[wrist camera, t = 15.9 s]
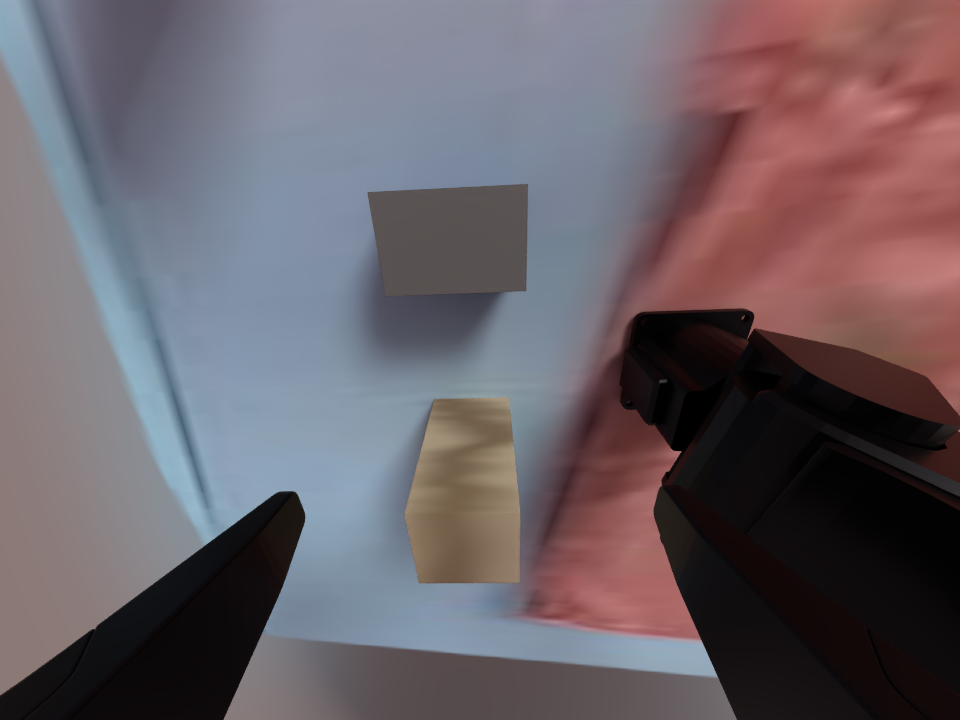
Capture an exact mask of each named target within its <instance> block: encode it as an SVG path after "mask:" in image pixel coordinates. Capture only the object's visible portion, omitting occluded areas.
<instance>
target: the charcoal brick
mask: <svg viewBox="0 0 960 720" xmlns="http://www.w3.org/2000/svg"><path fill="white" fill-rule="evenodd" d="M367 193H368V198H369V204H370V210H371V216H372V221H373V227H374V233H375V238H376V244H377V250H378V256H379V261H380V267H381V273H382V279H383V284H384V290H385V296H408V295H434V294H460V293H486V292H512V291H526V269H527V207H528V184H520V185H500V186H481V187H461V188H442V189H422V190H403V191H383V192H367Z"/></svg>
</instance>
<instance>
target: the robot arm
mask: <svg viewBox="0 0 960 720" xmlns="http://www.w3.org/2000/svg"><path fill="white" fill-rule="evenodd" d="M744 315H745V317H744V319H743V320H741V321H740V319H741V317H742V316H744ZM645 318H647V321H646V323H644V324H641V321H642V320H643V319H645ZM753 320H754V314H753V312H751V311H749V310H747V309H714V310H684V311H655V312H641V313H639V314H637V316H636V317H635V319H634V322H633V328H632V334H631V340H630V346H629V347H628V348H627V349H626V350H625V354H624V360H623V366H622V372H621V378H620V386H621V387H622V393H621V399H620V403H621V404H622V406H623V407H624V408H625V409H628V410H637V411H638V413H639V414H640V416H641V417H642V418H643V420H644V421H645V422H646V423H647V424H648V425H655V426H656V428H657V429H658V430H659V432H660V433H661V435H662V436H663V437H664V439H665V440H666V442H667V443H668V445H669V446H670V447H671V449H672V450H673V451H682V452H681V453H680V455H679V457H678V458H677V460H676V461H675V463H674V465H673V466H672V468H671V469H670V471H669V472H666V473H665V475H664V476H663V478H662V480H661V481H662V486H661V487H660V488H659V491H658V494H657V498H656V502H655V506H654V518H655V521H656V524H657V527H658V530H659V533H660V539H661V542H662V543H663V545H664V548H665V551H666V554H667V557H668V560H669V563H670V566H671V569H672V572H673V575H674V577H675V580H676V583H677V586H678V588H679V590H680V593H681V595H682V598H683V600H684V602H685V604H686V606H687V609H688V611H689V613H690V615H691V618H692V620H693V622H694V624H695V627H696V629H697V631H698V633H699V636H700V638H701V640H702V642H703V645H704V647H705V649H706V651H707V653H708V656H709V658H710V660H711V662H712V665H713V667H714V669H715V671H716V674H717V676H718V678H719V680H720V683H721V685H722V687H723V689H724V691H725V694H726V696H727V698H728V701H729V703H730V705H731V707H732V709H733V712H734V714H735V716H736V718H737V720H960V432H958V430H959V429H960V416H959V415H958V413H957V412H956V411H955V410H954V409H953V407H952V406H951V405H950V404H949V403H948V401H947V400H946V399H945V398H944V397H943V395H942V394H941V393H940V392H939V391H938V389H937V388H936V387H935V386H934V385H933V384H932V382H931V381H930V380H929V379H928V378H927V377H925V376H923V375H921V374H919V373H916V372H914V371H911V370H908V369H906V368H903V367H900V366H898V365H895V364H892V363H890V362H887V361H885V360H882V359H879V358H877V357H874V356H871V355H869V354H866V353H863V352H861V351H858V350H854V349H850V348H845V347H841V346H836V345H831V344H827V343H822V342H817V341H812V340H808V339H803V338H798V337H794V336H789V335H784V334H779V333H775V332H770V331H765V330H761V329H754V330H753V331H752V333H751V335H750V336H749V338H748V335H749V332H750V329H751V326H752V323H753ZM747 338H748V340H747ZM629 400H630V401H631V402H630V403H627V401H629ZM304 523H305V512H304V509H303V507H302V504H301V502H300V499H299V497H298V495H297V493H296V492H293V491H282V492H278V493H276V494H274V495H273V496H271V497H270V498H269V499H267V500H266V501H265V502H263V503H262V504H261V505H259V506H258V507H257V508H255V509H254V510H253V511H251V512H250V513H248V514H247V515H246V516H244V517H243V518H242V519H240V520H239V521H238V522H236V523H235V524H234V525H232V526H231V527H230V528H228V529H227V530H226V531H224V532H223V533H221V534H220V535H219V536H217V537H216V538H215V539H213V540H212V541H211V542H209V543H208V544H207V545H205V546H204V547H203V548H201V549H200V550H199V551H197V552H196V553H194V554H193V555H192V556H190V557H189V558H188V559H187V560H185V561H184V562H182V563H181V564H180V565H178V566H177V567H176V568H174V569H173V570H172V571H170V572H169V573H167V574H166V575H165V576H163V577H162V578H161V579H159V580H158V581H157V582H155V583H154V584H153V585H151V586H150V587H149V588H147V589H146V590H145V591H143V592H142V593H140V594H139V595H138V596H136V597H135V598H134V599H132V600H131V601H130V602H128V603H127V604H126V605H124V606H123V607H122V608H120V609H119V610H118V611H116V612H115V613H113V614H112V615H111V616H109V617H108V618H107V619H105V620H104V621H103V622H101V623H100V624H99V625H97V627H96V629H92V630H91V631H89V632H88V633H87V634H85V635H84V636H82V637H81V638H80V639H78V640H77V641H76V642H74V643H73V644H72V645H70V646H69V647H67V648H66V649H65V650H63V651H62V652H61V653H59V654H58V655H56V656H55V657H54V658H52V659H51V660H49V661H48V662H47V663H45V664H44V665H43V666H41V667H40V668H38V669H37V670H36V671H34V672H33V673H32V674H30V675H29V676H27V677H26V678H25V679H23V680H22V681H20V682H19V683H18V684H16V685H15V686H13V687H12V688H10V689H9V690H7V691H6V692H5V693H3V694H2V695H0V720H223V719H224V717H225V715H226V713H227V710H228V708H229V706H230V704H231V701H232V699H233V697H234V695H235V693H236V690H237V688H238V686H239V684H240V681H241V679H242V677H243V675H244V673H245V670H246V668H247V666H248V664H249V661H250V659H251V657H252V655H253V652H254V650H255V648H256V646H257V643H258V641H259V639H260V637H261V634H262V632H263V630H264V628H265V625H266V623H267V621H268V619H269V617H270V614H271V612H272V610H273V608H274V605H275V603H276V601H277V599H278V596H279V594H280V592H281V589H282V587H283V584H284V581H285V579H286V576H287V573H288V570H289V567H290V564H291V561H292V558H293V555H294V552H295V549H296V547H297V544H298V541H299V538H300V535H301V532H302V529H303V526H304Z"/></svg>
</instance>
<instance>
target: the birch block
mask: <svg viewBox="0 0 960 720" xmlns="http://www.w3.org/2000/svg"><path fill="white" fill-rule="evenodd" d="M404 515H405V519H406V524H407V529H408V534H409V538H410V543H411V548H412V553H413V557H414V562H415V567H416V572H417V576H418V581H419V583H519V581H520V505H519V495H518V485H517V474H516V464H515V454H514V444H513V434H512V424H511V414H510V404H509V397H505V398H467V399H434V402H433V406H432V410H431V413H430V417H429V421H428V425H427V429H426V433H425V437H424V440H423V444H422V448H421V452H420V456H419V460H418V464H417V467H416V471H415V475H414V479H413V483H412V487H411V491H410V495H409V498H408V502H407V506H406V510H405V514H404Z"/></svg>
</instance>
